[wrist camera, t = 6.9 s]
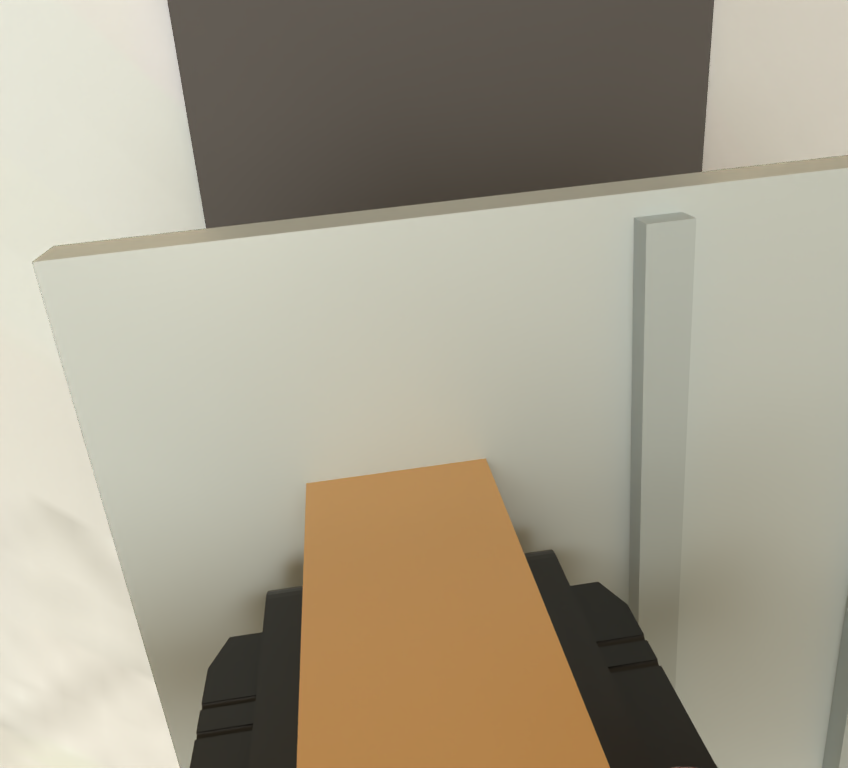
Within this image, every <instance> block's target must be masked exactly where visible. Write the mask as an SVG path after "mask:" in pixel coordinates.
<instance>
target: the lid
mask: <svg viewBox="0 0 848 768" xmlns="http://www.w3.org/2000/svg"><path fill="white" fill-rule="evenodd" d="M32 264H33V268H34V271H35V274H36V278H37V281H38V285H39V288H40V292H41V295H42V298H43V302H44V305H45V309H46V312H47V315H48V319H49V322H50V326H51V329H52V332H53V336H54V339H55V343H56V346H57V350H58V353H59V356H60V360H61V363H62V367H63V370H64V373H65V377H66V380H67V384H68V387H69V390H70V394H71V397H72V401H73V404H74V408H75V411H76V414H77V418H78V421H79V425H80V428H81V431H82V435H83V438H84V442H85V445H86V448H87V452H88V455H89V459H90V462H91V466H92V469H93V472H94V476H95V479H96V483H97V486H98V489H99V493H100V496H101V500H102V503H103V507H104V510H105V513H106V517H107V520H108V524H109V527H110V530H111V534H112V537H113V541H114V544H115V547H116V551H117V554H118V558H119V561H120V565H121V568H122V571H123V575H124V578H125V582H126V585H127V588H128V592H129V595H130V599H131V602H132V605H133V609H134V612H135V616H136V619H137V623H138V626H139V629H140V633H141V636H142V640H143V643H144V646H145V650H146V653H147V657H148V660H149V664H150V667H151V670H152V674H153V677H154V681H155V684H156V687H157V691H158V694H159V698H160V701H161V704H162V708H163V711H164V715H165V718H166V722H167V725H168V728H169V732H170V735H171V739H172V742H173V745H174V749H175V752H176V756H177V759H178V762H179V766H180V768H190V763H191V758H192V752H193V747H194V741H195V740H196V739H197V734H196V730H197V725H198V719H199V714H200V710H202V704H201V703H202V697H203V692H204V687H205V681H206V676H207V670H208V668H209V666H210V665H211V663H212V662H213V661H214V659H215V658H216V656H217V655H218V653H219V652H220V650H221V649H222V647H223V646H224V645H225V643H226V642H227V640H228V639H229V637H234V636H240V635H247V634H254V633H260V632H262V631H263V621H264V611H265V601H266V594H267V592H268V591H270V590H277V589H284V588H291V587H297V586H303V595H302V624H301V653H300V682H299V712H298V741H297V768H610V766H609V764H608V761H607V759H606V756H605V754H604V751H603V749H602V746H601V744H600V741H599V739H598V736H597V734H596V731H595V729H594V726H593V724H592V721H591V719H590V716H589V714H588V712H587V709H586V707H585V704H584V702H583V699H582V697H581V694H580V692H579V689H578V687H577V684H576V682H575V679H574V677H573V674H572V672H571V669H570V667H569V664H568V662H567V659H566V657H565V654H564V652H563V649H562V647H561V644H560V642H559V639H558V637H557V634H556V632H555V629H554V627H553V624H552V622H551V619H550V617H549V614H548V612H547V609H546V607H545V604H544V602H543V599H542V597H541V594H540V592H539V589H538V587H537V584H536V582H535V580H534V577H533V575H532V572H531V570H530V567H529V565H528V562H527V560H526V557H525V555H524V553H529V552H536V551H543V550H550V549H552V550H553V551H554V553H555V554H556V556H557V558H558V561H559V563H560V565H561V567H562V569H563V571H564V573H565V576H566V578H567V580H568V582H569V584H570V586H572V585H579V584H586V583H592V582H599V583H601V584H602V585H603V586H605V587H606V588H607V589H608V590H610V591H611V592H612V593H614V594H615V595H616V596H617V597H619V598H620V599H621V600H622V601H624V602H625V603H626V604H628V606H629V608H630V610H631V612H632V613H633V615H634V617H635V619H636V621H637V623H638V624H639V626H640V628H641V630H642V632H643V633H644V638H645V640H647V641H648V643H649V644H650V646H651V648H652V650H653V652H654V653H655V655H656V657H657V659H658V664H659V666H662V668H663V670H664V672H665V674H666V675H667V677H668V679H669V681H670V683H671V684H672V686H673V688H674V690H675V692H676V694H677V695H678V697H679V699H680V701H681V703H682V704H683V706H684V708H685V710H686V712H687V714H688V715H689V717H690V719H691V721H692V723H693V724H694V726H695V728H696V730H697V732H698V734H699V735H700V737H701V739H702V741H703V743H704V744H705V746H706V748H707V750H708V752H709V754H710V755H711V757H712V759H713V761H714V763H715V764H716V766H717V767H718V768H848V155H844V156H836V157H827V158H818V159H810V160H801V161H792V162H783V163H775V164H766V165H757V166H748V167H740V168H731V169H722V170H713V171H705V172H696V173H687V174H679V175H670V176H661V177H652V178H644V179H635V180H626V181H617V182H609V183H600V184H591V185H582V186H574V187H565V188H556V189H548V190H539V191H530V192H521V193H513V194H504V195H495V196H486V197H478V198H469V199H460V200H451V201H443V202H434V203H425V204H417V205H408V206H399V207H390V208H382V209H373V210H364V211H355V212H347V213H338V214H329V215H320V216H312V217H303V218H294V219H286V220H277V221H268V222H259V223H251V224H242V225H233V226H224V227H216V228H207V229H198V230H189V231H181V232H172V233H163V234H155V235H146V236H137V237H128V238H120V239H111V240H102V241H93V242H85V243H76V244H67V245H58V246H53V247H52V248H50V249H49V250H48V251H46V252H45V253H44V254H42V255H41V256H40V257H38V258H37V259H36V260H34V261H33V262H32Z"/></svg>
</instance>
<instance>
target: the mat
mask: <svg viewBox="0 0 848 768" xmlns="http://www.w3.org/2000/svg"><path fill="white" fill-rule="evenodd" d="M168 6H169V12H170V18H171V24H172V30H173V36H174V41H175V47H176V53H177V59H178V65H179V71H180V77H181V83H182V88H183V94H184V100H185V106H186V112H187V118H188V124H189V129H190V135H191V141H192V147H193V153H194V159H195V165H196V170H197V176H198V182H199V188H200V194H201V200H202V206H203V212H204V217H205V223H206V229H207V228H216V227H224V226H233V225H242V224H251V223H259V222H268V221H277V220H286V219H294V218H303V217H312V216H320V215H329V214H338V213H347V212H355V211H364V210H373V209H382V208H390V207H399V206H408V205H417V204H425V203H434V202H443V201H451V200H460V199H469V198H478V197H486V196H495V195H504V194H513V193H521V192H530V191H539V190H548V189H556V188H565V187H574V186H582V185H591V184H600V183H609V182H617V181H626V180H635V179H644V178H652V177H661V176H670V175H679V174H687V173H696V172H702V160H703V146H704V132H705V118H706V104H707V90H708V76H709V62H710V48H711V35H712V21H713V7H714V0H168Z"/></svg>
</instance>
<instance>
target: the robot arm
mask: <svg viewBox="0 0 848 768" xmlns="http://www.w3.org/2000/svg"><path fill="white" fill-rule="evenodd" d="M524 555H525V557H526V560H527V562H528V565H529V567H530V570H531V572H532V575H533V577H534V580H535V582H536V584H537V587H538V589H539V592H540V594H541V597H542V599H543V602H544V604H545V607H546V609H547V612H548V614H549V617H550V619H551V622H552V624H553V627H554V629H555V632H556V634H557V637H558V639H559V642H560V644H561V647H562V649H563V652H564V654H565V657H566V659H567V662H568V664H569V667H570V669H571V672H572V674H573V677H574V679H575V682H576V684H577V687H578V689H579V692H580V694H581V697H582V699H583V702H584V704H585V707H586V709H587V712H588V714H589V716H590V719H591V721H592V724H593V726H594V729H595V731H596V734H597V736H598V739H599V741H600V744H601V746H602V749H603V751H604V754H605V756H606V759H607V761H608V764H609V766H610V768H718V767H717V766H716V764H715V763H714V761H713V759H712V757H711V755H710V754H709V752H708V750H707V748H706V746H705V744H704V743H703V741H702V739H701V737H700V735H699V734H698V732H697V730H696V728H695V726H694V724H693V723H692V721H691V719H690V717H689V715H688V714H687V712H686V710H685V708H684V706H683V704H682V703H681V701H680V699H679V697H678V695H677V694H676V692H675V690H674V688H673V686H672V684H671V683H670V681H669V679H668V677H667V675H666V674H665V672H664V670H663V668H662V666H659V664H658V659H657V657H656V655H655V653H654V652H653V650H652V648H651V646H650V644H649V643H648V641H647V640H645V638H644V633H643V632H642V630H641V628H640V626H639V624H638V623H637V621H636V619H635V617H634V615H633V613H632V612H631V610H630V608H629V606H628V604H626V603H625V602H624V601H622V600H621V599H620V598H619V597H617V596H616V595H615V594H614V593H612V592H611V591H610V590H608V589H607V588H606V587H605V586H603V585H602V584H601V583H599V582H592V583H586V584H579V585H572V586H570V584H569V582H568V580H567V578H566V576H565V573H564V571H563V569H562V567H561V565H560V563H559V561H558V558H557V556H556V554H555V553H554V551H553V550H552V549H550V550H543V551H536V552H529V553H524ZM302 595H303V586H297V587H291V588H284V589H277V590H270V591H268V592H267V594H266V601H265V611H264V621H263V631H262V632H260V633H254V634H247V635H240V636H234V637H229V639H228V640H227V642H226V643H225V645H224V646H223V647H222V649H221V650H220V652H219V653H218V655H217V656H216V658H215V659H214V661H213V662H212V663H211V665H210V666H209V668H208V670H207V676H206V681H205V687H204V692H203V697H202V703H201V704H202V710H200V714H199V719H198V725H197V730H196V734H197V739H196V740H195V741H194V747H193V752H192V758H191V763H190V768H297V741H298V712H299V682H300V653H301V624H302Z"/></svg>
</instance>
